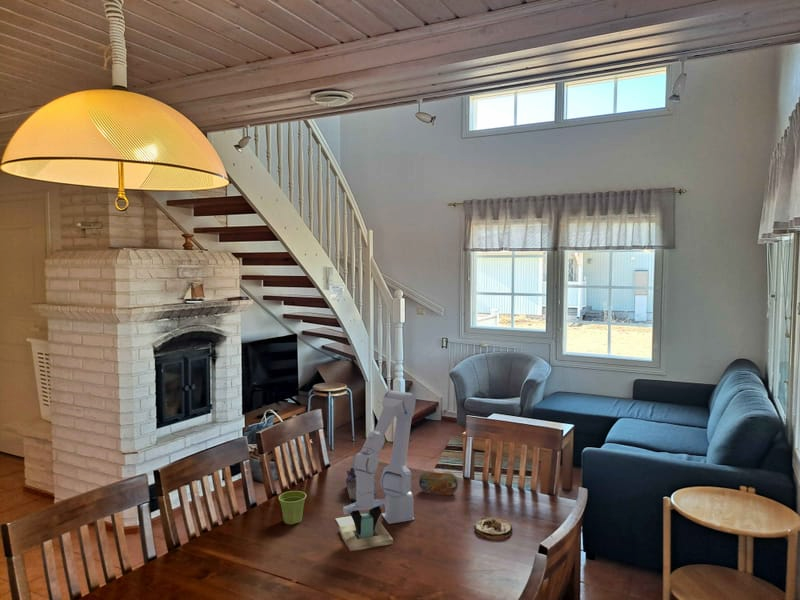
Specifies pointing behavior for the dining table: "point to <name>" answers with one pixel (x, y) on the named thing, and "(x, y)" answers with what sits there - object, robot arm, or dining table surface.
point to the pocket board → (363, 543)
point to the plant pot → (292, 506)
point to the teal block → (366, 526)
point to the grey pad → (345, 521)
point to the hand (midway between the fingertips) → (365, 531)
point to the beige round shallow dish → (493, 528)
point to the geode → (353, 484)
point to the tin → (438, 482)
